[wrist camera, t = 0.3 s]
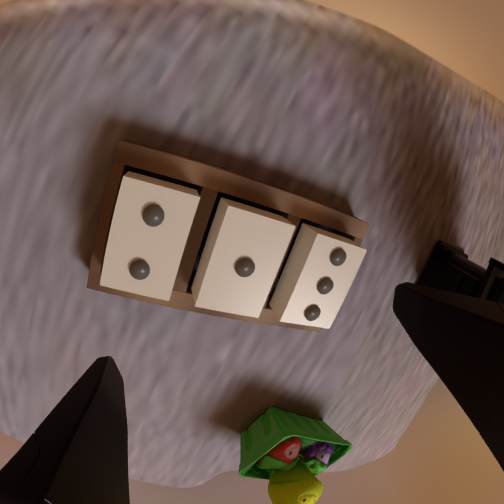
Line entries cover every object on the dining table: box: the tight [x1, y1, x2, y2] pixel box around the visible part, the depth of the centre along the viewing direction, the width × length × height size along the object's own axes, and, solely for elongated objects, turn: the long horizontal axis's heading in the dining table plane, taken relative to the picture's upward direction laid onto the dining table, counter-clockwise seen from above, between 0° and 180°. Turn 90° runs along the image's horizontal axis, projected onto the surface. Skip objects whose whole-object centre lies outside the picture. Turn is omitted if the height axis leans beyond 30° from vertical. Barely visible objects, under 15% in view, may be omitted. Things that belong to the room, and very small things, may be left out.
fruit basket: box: [239, 407, 353, 504], centre depth 25 cm, size 11×9×11 cm
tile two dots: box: [100, 171, 200, 301], centre depth 16 cm, size 4×6×2 cm, turn 159°
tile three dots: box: [269, 223, 367, 329], centre depth 20 cm, size 4×6×2 cm, turn 159°
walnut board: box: [87, 140, 369, 332], centre depth 20 cm, size 17×9×2 cm, turn 69°
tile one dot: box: [191, 197, 296, 318], centre depth 18 cm, size 4×6×2 cm, turn 159°
